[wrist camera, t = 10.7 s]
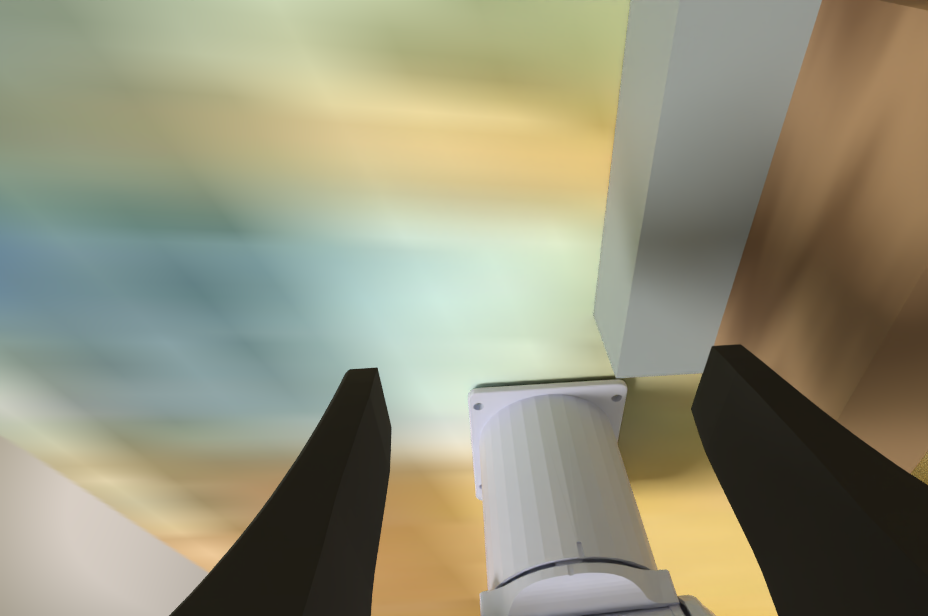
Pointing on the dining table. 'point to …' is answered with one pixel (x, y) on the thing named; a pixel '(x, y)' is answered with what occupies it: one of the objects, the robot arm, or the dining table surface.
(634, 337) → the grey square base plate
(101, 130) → the dining table surface
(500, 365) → the dining table surface
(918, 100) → the long brown wooden post
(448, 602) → the dining table surface
